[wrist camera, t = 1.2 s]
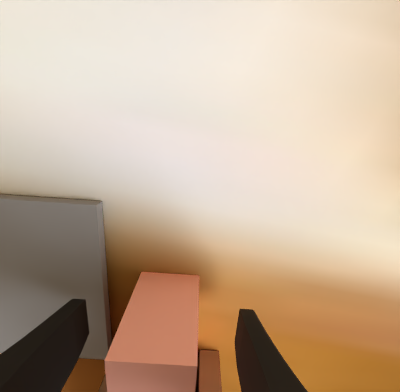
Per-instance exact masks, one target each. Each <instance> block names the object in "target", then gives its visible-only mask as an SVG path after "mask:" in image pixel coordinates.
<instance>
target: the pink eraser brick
mask: <svg viewBox="0 0 400 392" xmlns="http://www.w3.org/2000/svg"><path fill="white" fill-rule="evenodd" d="M198 310H199V275H185V274H170V273H154V272H141V274H140V277H139V279H138V281H137V284H136V286H135V289H134V291H133V293H132V296H131V298H130V301H129V303H128V305H127V308H126V310H125V313H124V315H123V317H122V320H121V322H120V325H119V327H118V329H117V332H116V334H115V337H114V339H113V341H112V344H111V346H110V349H109V351H108V353H107V356H106V358H105V361H104V362H105V373H106V384H107V392H195V386H196V375H197V357H198Z"/></svg>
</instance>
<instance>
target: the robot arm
mask: <svg viewBox="0 0 400 392" xmlns="http://www.w3.org/2000/svg"><path fill="white" fill-rule="evenodd" d="M88 335H89V324H88V316H87V307H86V299H71V300H70V301H69V302H67V303H66V304H65V305H64V306H62V307H61V308H60V309H59V310H57V311H56V312H55V313H54V314H52V315H51V316H50V317H49V318H47V319H46V320H45V321H44V322H42V323H41V324H40V325H39V326H37V327H36V328H35V329H33V330H32V331H31V332H30V333H28V334H27V335H26V336H24V337H23V338H22V339H20V340H19V341H18V342H16V343H15V344H14V345H12V346H11V347H10V348H8V349H7V350H5V351H4V352H3V353H1V354H0V392H61V390H62V388H63V386H64V385H65V383H66V381H67V379H68V377H69V375H70V374H71V372H72V370H73V368H74V366H75V364H76V362H77V361H78V359H79V357H80V354H81V352H82V350H83V347H84V345H85V343H86V340H87V338H88ZM235 351H236V362H237V370H238V375H239V380H240V386H241V391H242V392H308V391H307V390H306V389H305V388H304V386H303V385H302V384H301V382H300V381H299V380H298V378H297V377H296V376H295V374H294V373H293V371H292V370H291V369H290V367H289V366H288V364H287V363H286V362H285V360H284V359H283V357H282V356H281V354H280V353H279V351H278V350H277V348H276V347H275V345H274V344H273V342H272V340H271V339H270V337H269V336H268V334H267V332H266V331H265V329H264V327H263V326H262V324H261V322H260V321H259V319H258V317H257V315H256V313H255V312H254V311H253V310H249V309H240V311H239V317H238V323H237V330H236V336H235Z"/></svg>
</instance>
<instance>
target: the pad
mask: <svg viewBox="0 0 400 392" xmlns="http://www.w3.org/2000/svg"><path fill="white" fill-rule="evenodd" d="M71 299H86V307H87V316H88V324H89V335H88V338H87V340H86V343H85V345H84V347H83V350H82V352H81V354H80V357H79V358H86V359H103V360H105V358H106V356H107V353H108V351H109V349H110V346H111V344H112V336H111V322H110V308H109V294H108V280H107V266H106V251H105V237H104V223H103V209H102V201H92V200H77V199H63V198H48V197H33V196H18V195H4V194H0V353H3V352H4V351H5V350H7V349H8V348H10V347H11V346H12V345H14V344H15V343H16V342H18V341H19V340H20V339H22V338H23V337H24V336H26V335H27V334H28V333H30V332H31V331H32V330H33V329H35V328H36V327H37V326H39V325H40V324H41V323H42V322H44V321H45V320H46V319H47V318H49V317H50V316H51V315H52V314H54V313H55V312H56V311H57V310H59V309H60V308H61V307H62V306H64V305H65V304H66V303H67V302H69V301H70V300H71Z"/></svg>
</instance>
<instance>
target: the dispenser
mask: <svg viewBox="0 0 400 392" xmlns="http://www.w3.org/2000/svg"><path fill="white" fill-rule="evenodd" d="M99 392H107V384H106V374H105V376H104V379H103V381H102V384H101V387H100V389H99ZM196 392H222V388H221V374H220V360H219V351H211V350H200V353H199V364H198V375H197V386H196Z"/></svg>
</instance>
